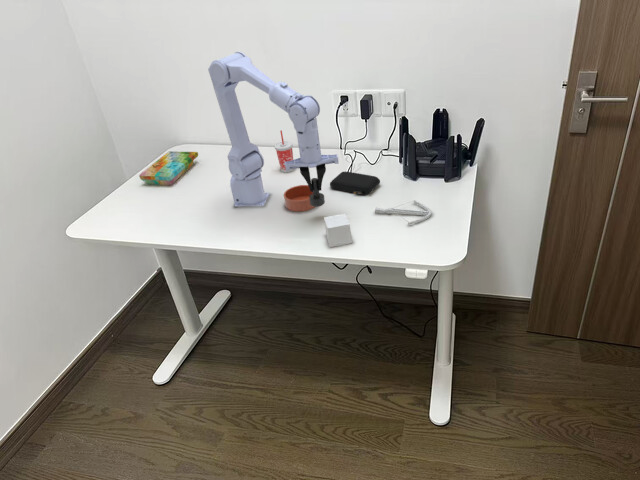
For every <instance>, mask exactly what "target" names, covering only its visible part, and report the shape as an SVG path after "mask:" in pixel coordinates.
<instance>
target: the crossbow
mask: <svg viewBox="0 0 640 480" xmlns="http://www.w3.org/2000/svg"><path fill="white" fill-rule="evenodd" d="M412 202H413V203H414V204H415V205H417V206H419V207H421V208H422V209H421V210H416V209H405V208H399V207H400V206H403V205H406V204H409V203H412ZM423 209H424V210H423ZM374 213H375V214H388V215H390V214H396V215H397V216H399V217H400V218H402V219H404V220H405V221H406V222H407V225H408V226H410V225H414V224H418V223H420V222H423V221H425V220H427V219H429V218H430V217H431V215H432V211H431V210H430V209H429V208H428V207H427V206H426V205H424V204H422V203H421V202H419V201H417V200H416V199H414V200H411V201H409V202H406V203H403V204H400V205H398V206H394V207H389V208H388V207H387V208H381V207H375V209H374ZM399 214H404V215H412V216H413V215H416V216H423V217H421V218H418V219H415V220H412V221H408V220H407V219H405V218H404V217H402V216H401V215H399Z"/></svg>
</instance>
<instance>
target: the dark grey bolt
mask: <svg viewBox="0 0 640 480" xmlns="http://www.w3.org/2000/svg"><path fill="white" fill-rule="evenodd" d="M310 179H311V184H312V188H313V194H311V195H310V196H309V199H310V204H311V206H315V208H316V207H317V208H318V207H322V206H323V205H325V203H326V200H325V194H323V193H322V192H320V191H319V188H318V179H317V177H312V178H310Z"/></svg>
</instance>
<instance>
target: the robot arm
mask: <svg viewBox="0 0 640 480" xmlns="http://www.w3.org/2000/svg"><path fill="white" fill-rule="evenodd" d="M208 73H209V77H210V79H211V83H212V87H213V89H214V94H215V97H216V100H217V103H218V106H219V110H220V113H221V116H222V119H223V122H224V126H225V130H226V131H227V134H228V138H229V141H230V144H231V148H230V150H229V152H228V154H227V157H226V158H227V160H228V161H227V162H228V171H229V172H230V174H231V176H230V181H229V183H230V185H229V186H230V191H231V195H232V199H233V203H234V204H233V207H234V208H235V207H236V208H239V207H261V206H262V207H263V206H264V205H265V204H266V202H267V199H268V197H269V196H270V192H266V191H265V188H264V183H263V182H264V181H263V177H262V172H263V167H264V165H265V159H264V157H263V155H262V153H261V152H260V149H259V147H258V145H257V144H254V143H252V142H251V141H250V137H249V133H248V130H247V127H246V124H245V120H244V116H243V114H242V110H241V106H240V104H239V100H238V96H237V93H236V88H237V87H238V84H239V83H241V82H246V83H248V84H250V85H252V86H254V87H255V88H257V89H258V90H261V91H262V92H264V93H266V94H267V95H268V98H269V102H271V103H272V104H274V105H276V106H277V107H278V108H280V109H281V110H283V111H285V112H286V113H287V114H288V117H289V119H290V121H291V122H292V124H293V129H294V130H295V132H296V139H297V146H298V151H299V157H298V158H293V160H291V161H286V162H285V168H286V171H289V170H290V169H294V170H296V169H299V173H300V174H301V176H302V177H303V179H304V180H305V182H306V185H308V186H309V188H310V192H313V188H312V183H311V179H312V178H311V171H310V169H314V168H315V171H316V176H317V177H316V178H317V180H318V188H319V192H321V191H322V185H323V179H324V176H325V174H326V171H327V167H326V165H331V164H335V165H338V164H339V156H338V154H322V151H321V142H320V133H319V127H318V120H317V117H318V116H319V115H320V112H321V107H320V104H319V102H318V101H317V99H316V98H315V97H313V96H312V95H304V94H301V93H299V92H297V90H295V89H293V88H292V87H290V86H289V84H288V83H286V82H285V81H284V82H283V81H278V82H275V81H274V80H273V79H271V78H270V77H269V76H268V75H267V74H265V73H264V72H263V71H261V70H260V69H259V68H258V67H256V66H255V64H253V61H252V59H251V57H249V56H247V55H246V54H245V53H244V52H242V51H236V52H233V53H232V54H229V55H227V56H224V57H221V58H219V59H215V60H213V61H211V63H210V65H209V67H208Z"/></svg>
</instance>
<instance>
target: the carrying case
mask: <svg viewBox="0 0 640 480" xmlns="http://www.w3.org/2000/svg"><path fill="white" fill-rule="evenodd" d="M380 184H381V179H380V178H378V177H377V176H375V175H371V174H366V173H365V174H364V173H359V172H352V171H342V172H340V173H339V174H338V175H337V176H336V177H334V178H333V179H332V180H331V181H330V182H329V187H330V188H332V189H333V190H337V191H343V192H348V193H352V194H353V195H364V196H365V195H370V194H371V193H372V192H373V191H374V190H375V189H376V188H377V187H378V186H379V185H380Z"/></svg>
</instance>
